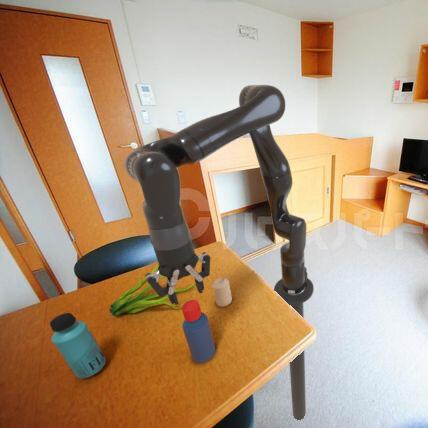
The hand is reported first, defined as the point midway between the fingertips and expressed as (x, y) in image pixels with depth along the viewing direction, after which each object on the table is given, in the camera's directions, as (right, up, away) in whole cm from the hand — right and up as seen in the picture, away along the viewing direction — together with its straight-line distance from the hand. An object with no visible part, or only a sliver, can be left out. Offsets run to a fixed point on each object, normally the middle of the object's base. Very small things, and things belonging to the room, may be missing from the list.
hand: (188, 296), depth 61 cm
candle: (-2, -12, +28) cm, 30 cm away
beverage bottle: (-29, -22, +5) cm, 37 cm away
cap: (0, -6, +3) cm, 7 cm away
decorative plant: (-24, -11, +29) cm, 39 cm away
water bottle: (-1, -20, +10) cm, 22 cm away
